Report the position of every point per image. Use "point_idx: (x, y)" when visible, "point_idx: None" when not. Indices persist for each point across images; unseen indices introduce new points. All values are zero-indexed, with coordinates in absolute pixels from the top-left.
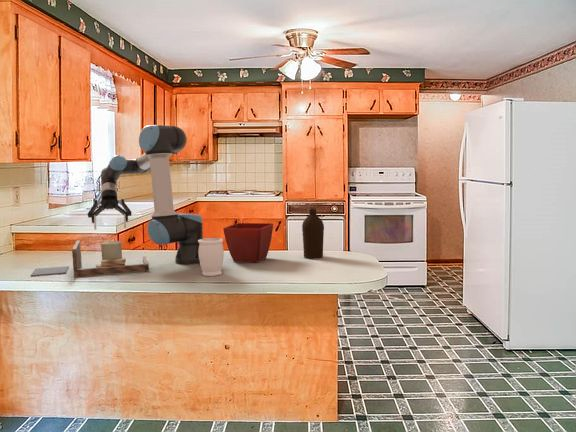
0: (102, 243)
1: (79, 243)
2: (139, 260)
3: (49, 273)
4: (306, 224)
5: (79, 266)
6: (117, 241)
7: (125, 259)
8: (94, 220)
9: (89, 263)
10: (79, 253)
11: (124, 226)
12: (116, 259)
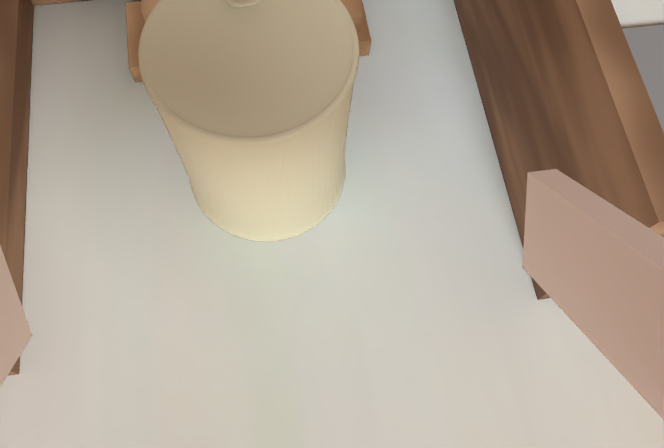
0: (337, 24)
1: (607, 120)
2: (50, 394)
3: (645, 30)
4: None
5: (491, 83)
6: (185, 104)
7: (143, 17)
8: (631, 223)
9: (495, 368)
10: (545, 101)
11: (13, 292)
12: None
